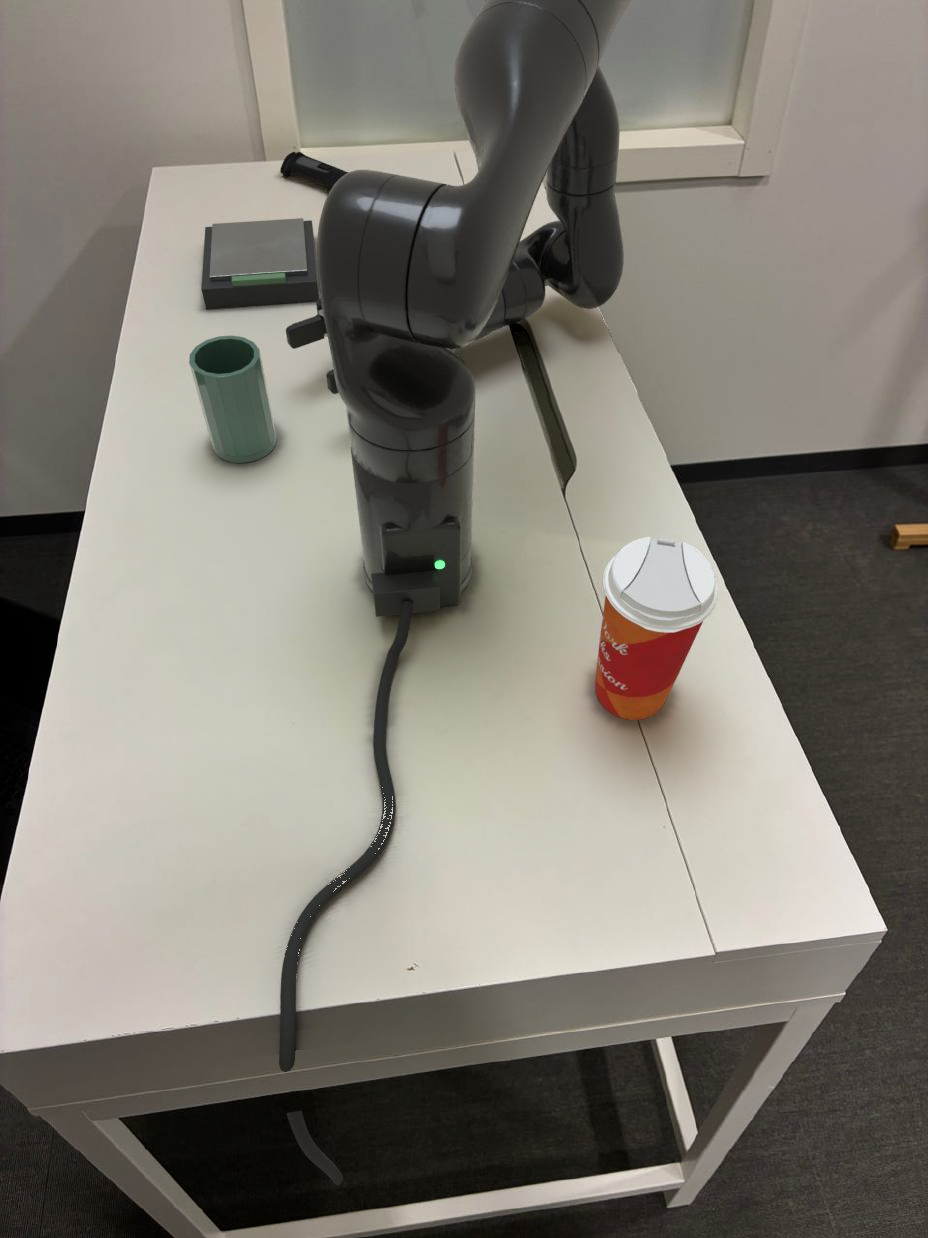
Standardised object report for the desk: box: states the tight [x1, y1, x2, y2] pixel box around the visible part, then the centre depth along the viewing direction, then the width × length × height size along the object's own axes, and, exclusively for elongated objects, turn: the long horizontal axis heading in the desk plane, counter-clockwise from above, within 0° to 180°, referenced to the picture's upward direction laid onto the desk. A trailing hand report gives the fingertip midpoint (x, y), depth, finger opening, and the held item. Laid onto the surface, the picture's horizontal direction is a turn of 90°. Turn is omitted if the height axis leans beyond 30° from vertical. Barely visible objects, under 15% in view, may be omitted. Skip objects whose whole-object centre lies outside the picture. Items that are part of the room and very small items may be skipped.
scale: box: [200, 217, 320, 310], centre depth 105 cm, size 14×13×3 cm
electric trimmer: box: [279, 151, 350, 193], centre depth 118 cm, size 4×16×3 cm, turn 55°
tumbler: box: [188, 335, 277, 464], centre depth 83 cm, size 6×6×10 cm
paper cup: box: [594, 536, 719, 721], centre depth 64 cm, size 8×8×14 cm
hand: (308, 360), depth 85 cm, fingers open, 8 cm apart
